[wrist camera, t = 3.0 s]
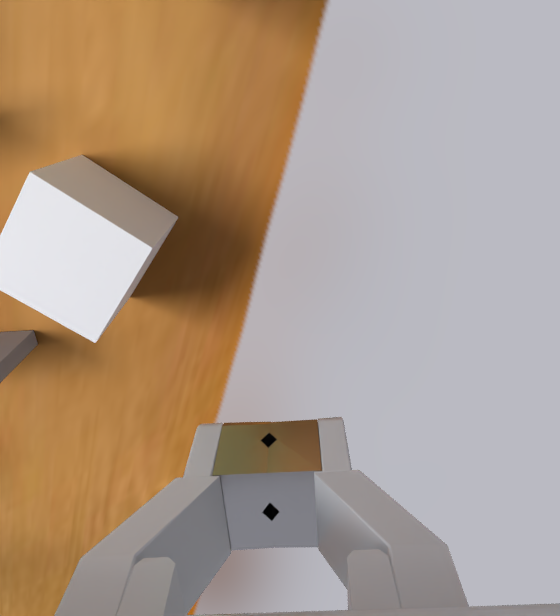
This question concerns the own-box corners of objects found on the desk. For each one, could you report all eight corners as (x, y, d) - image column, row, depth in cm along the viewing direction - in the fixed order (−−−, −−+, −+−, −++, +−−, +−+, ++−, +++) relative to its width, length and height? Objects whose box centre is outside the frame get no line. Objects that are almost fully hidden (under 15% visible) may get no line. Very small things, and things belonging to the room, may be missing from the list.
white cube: (179, 216, 28) (153, 248, 22) (130, 296, 30) (96, 343, 24) (82, 153, 27) (29, 171, 21) (38, 242, 29) (-21, 279, 23)
